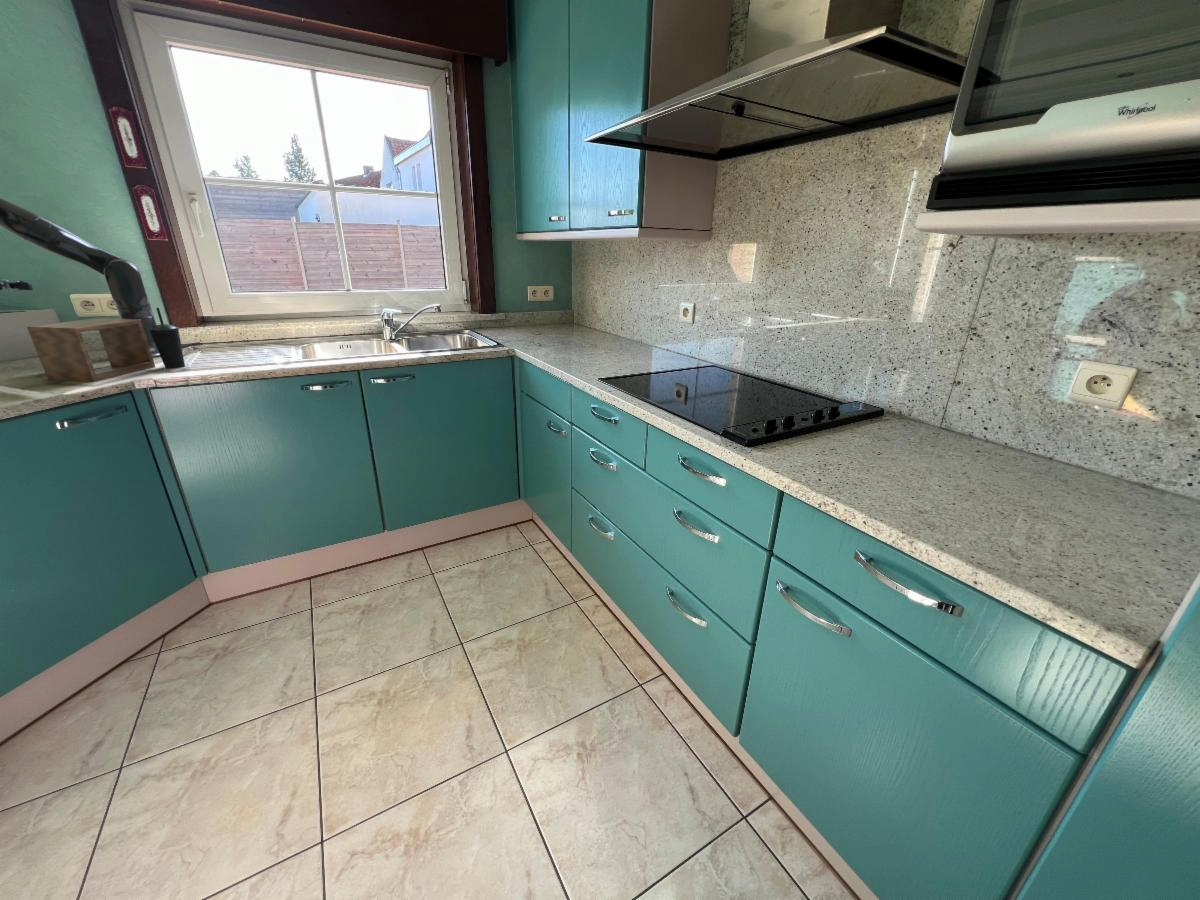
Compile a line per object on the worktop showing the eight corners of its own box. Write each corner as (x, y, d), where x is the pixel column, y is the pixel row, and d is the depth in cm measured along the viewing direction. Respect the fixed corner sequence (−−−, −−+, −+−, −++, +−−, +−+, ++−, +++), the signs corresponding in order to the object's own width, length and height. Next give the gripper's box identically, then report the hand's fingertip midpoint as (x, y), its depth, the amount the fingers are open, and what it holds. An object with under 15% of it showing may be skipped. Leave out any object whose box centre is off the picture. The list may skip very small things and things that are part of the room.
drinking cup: (174, 367, 165) (156, 306, 158) (196, 368, 165) (179, 306, 158) (154, 372, 158) (134, 308, 151) (177, 373, 158) (158, 309, 151)
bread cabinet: (49, 383, 143) (26, 326, 137) (115, 369, 161) (98, 318, 155) (95, 385, 142) (74, 328, 136) (156, 370, 161) (140, 319, 155)
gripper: (-78, 272, 135) (-22, 274, 135) (-15, 271, 148) (36, 272, 148) (-65, 300, 138) (-10, 302, 137) (-5, 296, 151) (46, 298, 151)
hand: (14, 287), depth 143 cm, fingers open, 8 cm apart
